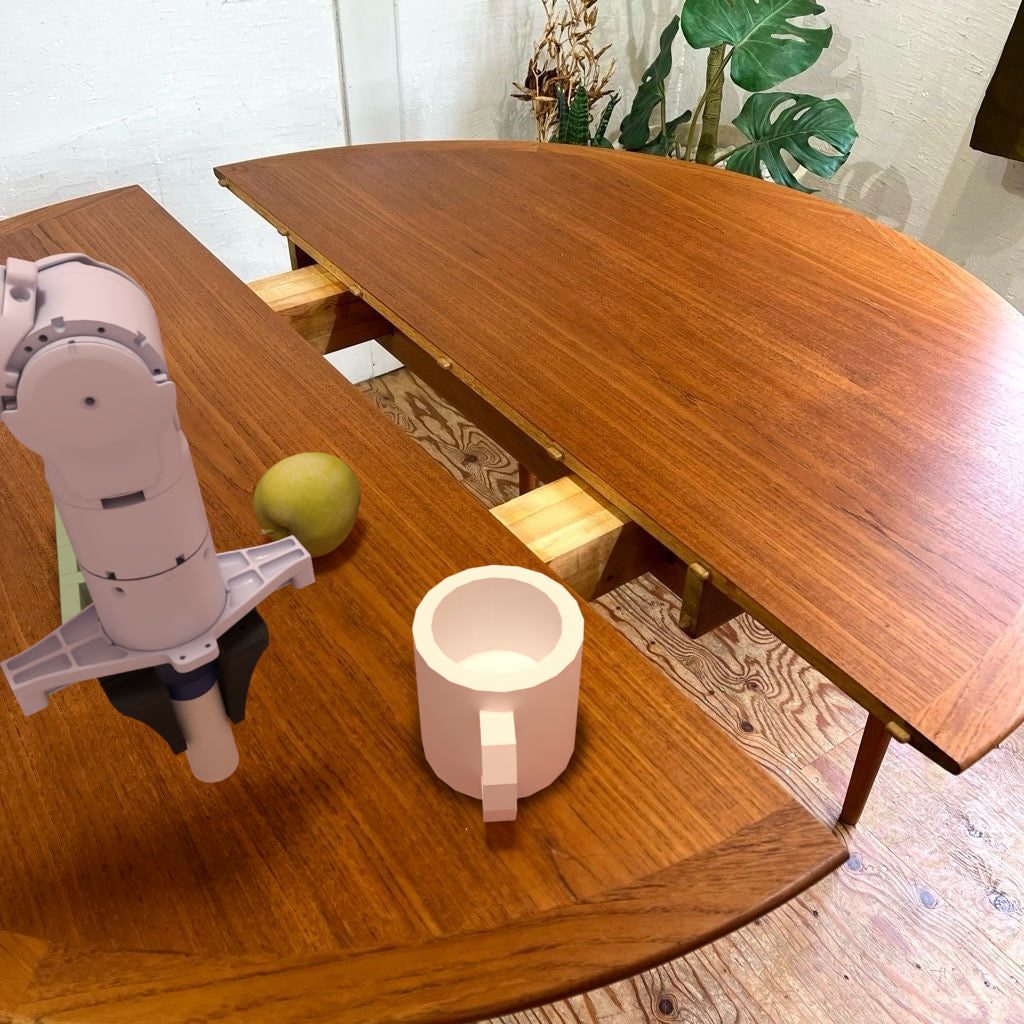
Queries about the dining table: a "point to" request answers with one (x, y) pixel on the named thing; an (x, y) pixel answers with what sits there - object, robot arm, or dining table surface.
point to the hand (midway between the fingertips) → (203, 725)
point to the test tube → (202, 720)
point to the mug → (498, 682)
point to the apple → (308, 501)
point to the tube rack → (69, 575)
